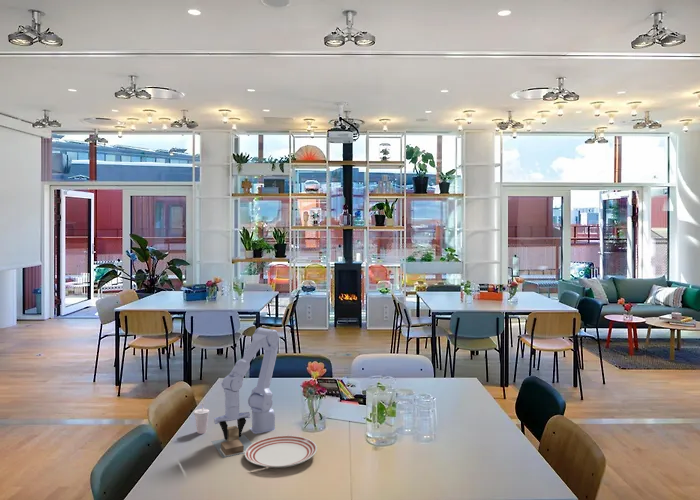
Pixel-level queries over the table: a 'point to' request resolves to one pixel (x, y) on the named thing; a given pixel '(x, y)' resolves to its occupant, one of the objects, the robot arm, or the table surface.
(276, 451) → the dinner plate
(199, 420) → the smoothie
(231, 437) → the oak block
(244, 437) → the build board
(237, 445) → the walnut slab
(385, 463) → the table surface
